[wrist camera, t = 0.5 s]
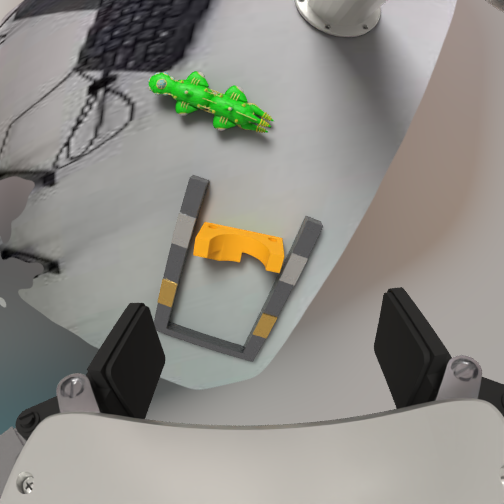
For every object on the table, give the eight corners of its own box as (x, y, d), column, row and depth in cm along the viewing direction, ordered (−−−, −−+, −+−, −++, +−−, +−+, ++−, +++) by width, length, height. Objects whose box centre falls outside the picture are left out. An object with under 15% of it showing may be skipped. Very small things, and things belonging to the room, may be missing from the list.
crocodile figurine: (165, 62, 33) (154, 57, 30) (281, 106, 36) (282, 104, 32) (147, 102, 36) (135, 101, 32) (260, 147, 39) (259, 150, 35)
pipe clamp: (201, 246, 46) (191, 266, 40) (204, 221, 44) (195, 238, 38) (275, 262, 46) (276, 283, 40) (282, 237, 44) (284, 256, 39)
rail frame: (192, 174, 41) (189, 177, 39) (321, 221, 43) (323, 226, 41) (155, 322, 53) (152, 329, 51) (253, 354, 55) (252, 362, 53)
